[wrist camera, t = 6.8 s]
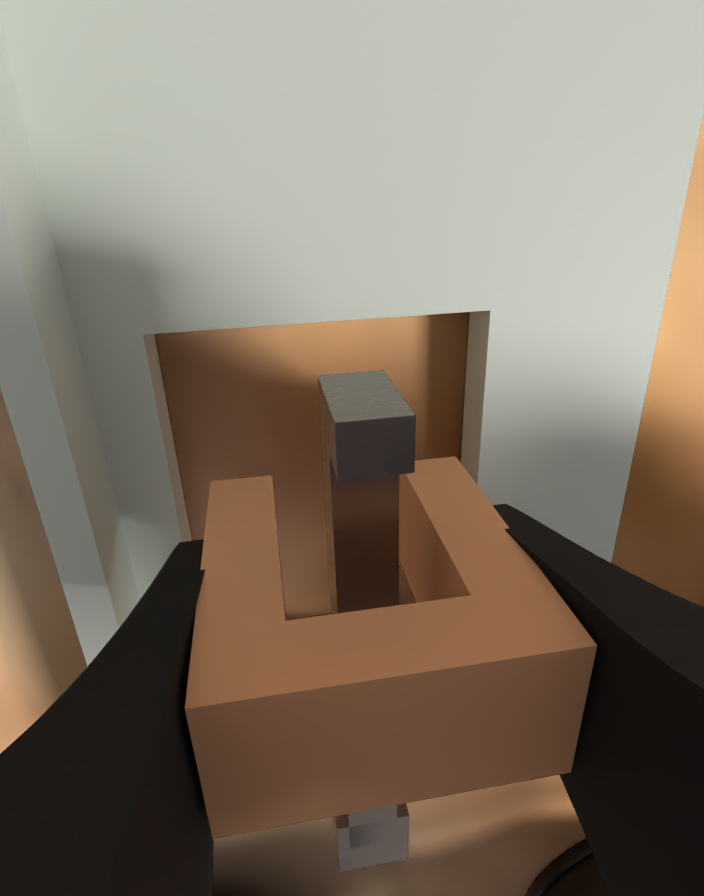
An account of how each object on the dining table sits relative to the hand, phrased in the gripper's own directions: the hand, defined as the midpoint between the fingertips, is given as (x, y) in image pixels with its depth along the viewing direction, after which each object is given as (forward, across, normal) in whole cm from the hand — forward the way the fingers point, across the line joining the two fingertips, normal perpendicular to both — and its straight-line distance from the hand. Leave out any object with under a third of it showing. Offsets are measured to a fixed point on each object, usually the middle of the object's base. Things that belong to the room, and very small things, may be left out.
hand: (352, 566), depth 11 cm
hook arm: (+4, 0, +1) cm, 4 cm away
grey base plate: (+4, -1, -1) cm, 4 cm away
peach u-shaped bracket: (+2, 0, 0) cm, 2 cm away
